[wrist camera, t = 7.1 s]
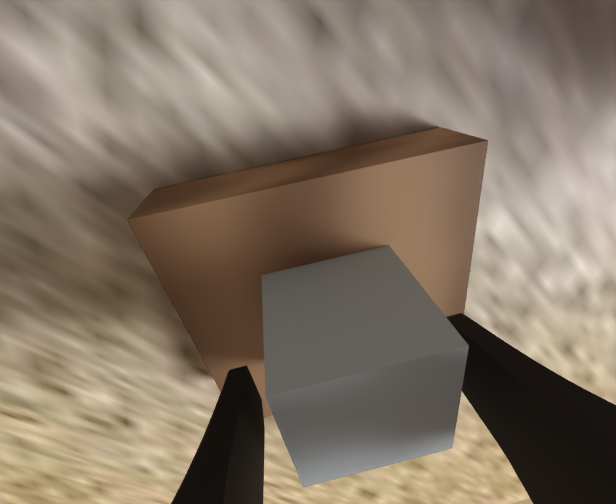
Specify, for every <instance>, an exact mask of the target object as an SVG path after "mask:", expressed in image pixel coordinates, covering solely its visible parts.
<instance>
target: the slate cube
mask: <svg viewBox="0 0 616 504" xmlns="http://www.w3.org/2000/svg"><path fill="white" fill-rule="evenodd" d="M261 280H262V310H263V340H264V371H265V397H266V399H267V402H268V404H269V407H270V409H271V411H272V414H273V416H274V418H275V421H276V423H277V426H278V428H279V430H280V433H281V435H282V437H283V440H284V442H285V445H286V447H287V449H288V452H289V454H290V456H291V459H292V461H293V464H294V466H295V468H296V471H297V473H298V475H299V478H300V480H301V483H302V485H303V487H307V486H311V485H315V484H319V483H322V482H326V481H330V480H334V479H337V478H341V477H345V476H349V475H353V474H356V473H360V472H364V471H368V470H372V469H375V468H379V467H383V466H387V465H391V464H394V463H398V462H402V461H406V460H410V459H413V458H417V457H421V456H425V455H429V454H432V453H436V452H440V451H444V450H448V449H451V448H452V446H453V440H454V434H455V428H456V422H457V416H458V410H459V403H460V397H461V391H462V385H463V379H464V373H465V367H466V361H467V355H468V349H469V345H468V344H467V343H466V342H465V340H464V339H463V338H462V337H461V335H460V334H459V333H458V332H457V330H456V329H455V328H454V326H453V325H452V324H451V323H450V321H449V320H448V319H447V318H446V316H445V315H444V314H443V313H442V311H441V310H440V309H439V308H438V306H437V305H436V304H435V302H434V301H433V300H432V299H431V297H430V296H429V295H428V294H427V292H426V291H425V290H424V289H423V287H422V286H421V285H420V284H419V282H418V281H417V280H416V278H415V277H414V276H413V275H412V273H411V272H410V271H409V270H408V268H407V267H406V266H405V265H404V263H403V262H402V261H401V260H400V258H399V257H398V256H397V254H396V253H395V252H394V251H393V249H392V248H391V247H390V246H385V247H381V248H376V249H372V250H368V251H363V252H359V253H355V254H351V255H346V256H342V257H338V258H333V259H329V260H325V261H320V262H316V263H312V264H308V265H303V266H299V267H295V268H290V269H286V270H282V271H277V272H273V273H269V274H265V275H261Z"/></svg>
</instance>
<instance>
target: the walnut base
mask: <svg viewBox="0 0 616 504" xmlns="http://www.w3.org/2000/svg"><path fill="white" fill-rule="evenodd" d="M487 144H488V140H484V139H481V138H477V137H474V136H470V135H467V134H463V133H459V132H456V131H452V130H449V129H445V128H441V127H439V128H434V129H430V130H425V131H420V132H416V133H411V134H407V135H402V136H397V137H393V138H388V139H384V140H379V141H374V142H370V143H365V144H361V145H356V146H351V147H347V148H342V149H338V150H333V151H328V152H324V153H319V154H315V155H310V156H305V157H301V158H296V159H292V160H287V161H282V162H278V163H273V164H269V165H264V166H259V167H255V168H250V169H246V170H241V171H236V172H232V173H227V174H223V175H218V176H213V177H209V178H204V179H200V180H195V181H190V182H186V183H181V184H177V185H172V186H167V187H163V188H158V189H154V190H153V191H152V192H151V194H150V195H149V196H148V197H147V198H146V199H145V200H144V201H143V203H142V204H141V205H140V206H139V207H138V208H137V209H136V211H135V212H134V213H133V214H132V215H131V216H130V217H129V218H128V220H127V221H128V223H129V225H130V227H131V228H132V230H133V232H134V234H135V236H136V238H137V239H138V241H139V243H140V245H141V247H142V249H143V250H144V252H145V254H146V256H147V258H148V259H149V261H150V263H151V265H152V267H153V269H154V270H155V272H156V274H157V276H158V278H159V280H160V281H161V283H162V285H163V287H164V289H165V291H166V292H167V294H168V296H169V298H170V300H171V302H172V303H173V305H174V307H175V309H176V311H177V313H178V314H179V316H180V318H181V320H182V322H183V324H184V325H185V327H186V329H187V331H188V333H189V334H190V336H191V338H192V340H193V342H194V344H195V345H196V347H197V349H198V351H199V353H200V355H201V356H202V358H203V360H204V362H205V364H206V366H207V367H208V369H209V371H210V373H211V375H212V377H213V378H214V380H215V382H216V384H217V386H218V388H219V389H220V391H222V388H223V385H224V382H225V379H226V376H227V373H228V371H229V370H230V369H234V368H238V367H242V366H248V369H249V371H250V373H251V376H252V378H253V380H254V382H255V385H256V387H257V389H258V392H259V394H260V396H261V399H262V406H263V417H267V416H271V415H273V414H272V411H271V409H270V407H269V404H268V402H267V399H266V397H265V371H264V340H263V310H262V280H261V275H265V274H269V273H273V272H277V271H282V270H286V269H290V268H295V267H299V266H303V265H308V264H312V263H316V262H320V261H325V260H329V259H333V258H338V257H342V256H346V255H351V254H355V253H359V252H363V251H368V250H372V249H376V248H381V247H385V246H390V247H391V248H392V249H393V251H394V252H395V253H396V254H397V256H398V257H399V258H400V260H401V261H402V262H403V263H404V265H405V266H406V267H407V268H408V270H409V271H410V272H411V273H412V275H413V276H414V277H415V278H416V280H417V281H418V282H419V284H420V285H421V286H422V287H423V289H424V290H425V291H426V292H427V294H428V295H429V296H430V297H431V299H432V300H433V301H434V302H435V304H436V305H437V306H438V308H439V309H440V310H441V311H442V313H443V314H444V315H445V316H446V317H447V316H451V315H455V314H459V313H462V314H464V309H465V302H466V295H467V288H468V280H469V273H470V266H471V259H472V252H473V245H474V237H475V230H476V223H477V216H478V209H479V201H480V194H481V187H482V180H483V173H484V166H485V158H486V151H487Z"/></svg>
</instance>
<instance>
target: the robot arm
mask: <svg viewBox="0 0 616 504" xmlns="http://www.w3.org/2000/svg"><path fill="white" fill-rule="evenodd" d="M446 318H447V319H448V320H449V321H450V323H451V324H452V325H453V326H454V328H455V329H456V330H457V332H458V333H459V334H460V335H461V337H462V338H463V339H464V340H465V342H466V343H467V344H468V345H469V349H468V355H467V361H466V367H465V373H464V379H463V385H462V392H463V393H464V395H465V396H466V398H467V399H468V401H469V402H470V403H471V405H472V406H473V408H474V409H475V411H476V412H477V414H478V415H479V417H480V418H481V419H482V421H483V422H484V424H485V425H486V427H487V428H488V430H489V431H490V433H491V434H492V435H493V437H494V438H495V440H496V441H497V443H498V444H499V446H500V447H501V449H502V450H503V452H504V454H505V455H506V457H507V458H508V460H509V462H510V463H511V465H512V467H513V469H514V470H515V472H516V474H517V476H518V477H519V479H520V481H521V483H522V484H523V486H524V488H525V490H526V491H527V493H528V495H529V497H530V499H531V500H532V502H533V504H616V405H614V404H612V403H610V402H608V401H606V400H604V399H602V398H601V397H599V396H597V395H595V394H593V393H591V392H589V391H587V390H585V389H583V388H581V387H579V386H578V385H576V384H574V383H572V382H570V381H568V380H567V379H565V378H563V377H562V376H560V375H558V374H556V373H555V372H553V371H551V370H549V369H548V368H546V367H544V366H543V365H541V364H539V363H538V362H536V361H534V360H533V359H531V358H530V357H528V356H526V355H525V354H523V353H522V352H520V351H518V350H517V349H515V348H514V347H512V346H511V345H509V344H507V343H506V342H504V341H503V340H501V339H500V338H498V337H497V336H495V335H494V334H492V333H491V332H489V331H488V330H486V329H485V328H483V327H482V326H480V325H479V324H477V323H476V322H474V321H473V320H471V319H470V318H468V317H467V316H465V315H464V314H462V313H459V314H455V315H451V316H447V317H446ZM263 484H264V417H263V406H262V399H261V396H260V394H259V392H258V389H257V387H256V385H255V382H254V380H253V378H252V376H251V373H250V371H249V369H248V366H242V367H238V368H234V369H230V370H229V371H228V373H227V376H226V379H225V382H224V385H223V388H222V391H221V393H220V396H219V399H218V402H217V404H216V407H215V409H214V412H213V415H212V417H211V419H210V422H209V424H208V427H207V429H206V431H205V434H204V436H203V439H202V441H201V443H200V445H199V448H198V450H197V452H196V454H195V456H194V458H193V461H192V463H191V465H190V467H189V469H188V471H187V473H186V475H185V478H184V480H183V482H182V484H181V486H180V488H179V489H178V491H177V493H176V495H175V497H174V499H173V501H172V503H171V504H263Z"/></svg>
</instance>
